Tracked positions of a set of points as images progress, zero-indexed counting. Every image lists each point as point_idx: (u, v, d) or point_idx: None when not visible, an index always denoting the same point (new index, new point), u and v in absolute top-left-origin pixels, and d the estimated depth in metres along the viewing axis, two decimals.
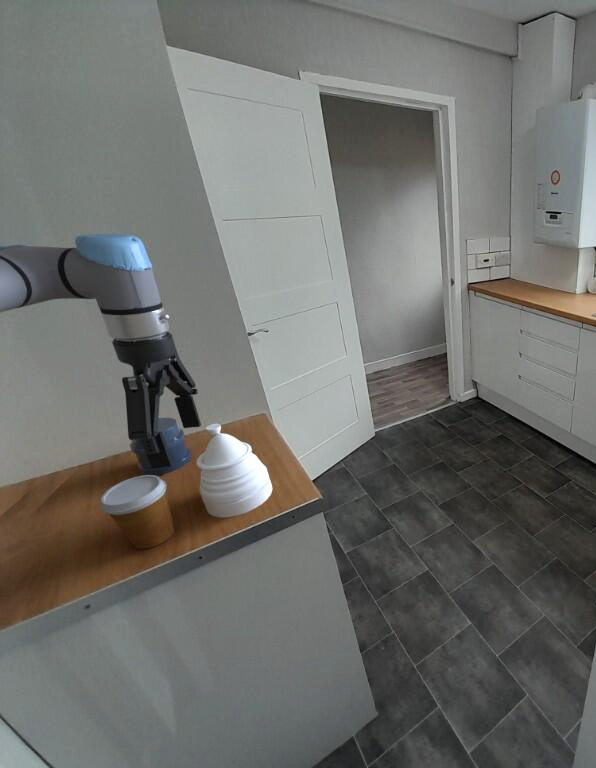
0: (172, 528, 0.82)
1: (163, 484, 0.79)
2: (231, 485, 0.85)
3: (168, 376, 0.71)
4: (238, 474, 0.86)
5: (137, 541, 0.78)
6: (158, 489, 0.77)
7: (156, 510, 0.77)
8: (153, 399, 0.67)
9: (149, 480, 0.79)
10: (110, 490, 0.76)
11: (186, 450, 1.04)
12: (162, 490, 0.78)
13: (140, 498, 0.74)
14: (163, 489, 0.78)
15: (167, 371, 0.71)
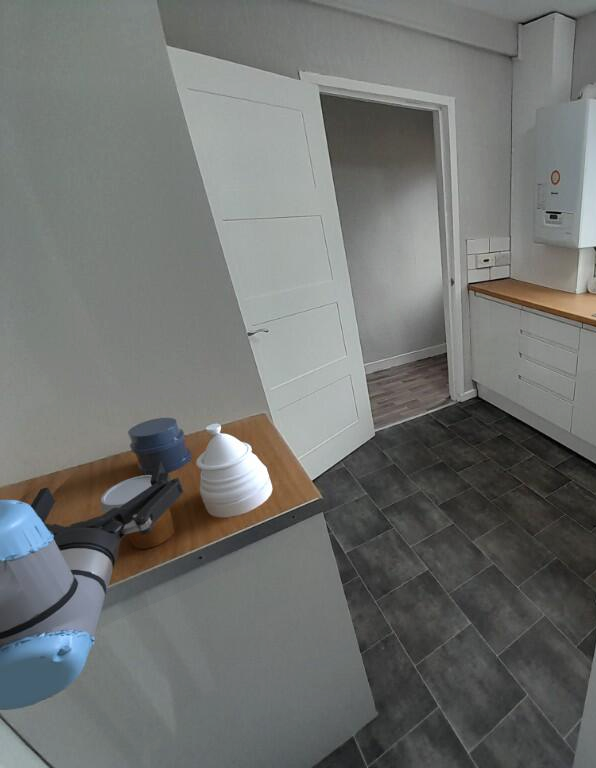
0: (172, 528, 0.82)
1: None
2: (231, 485, 0.85)
3: None
4: (238, 474, 0.86)
5: (137, 541, 0.78)
6: None
7: None
8: None
9: (149, 480, 0.79)
10: (110, 490, 0.76)
11: (186, 450, 1.04)
12: None
13: None
14: None
15: None
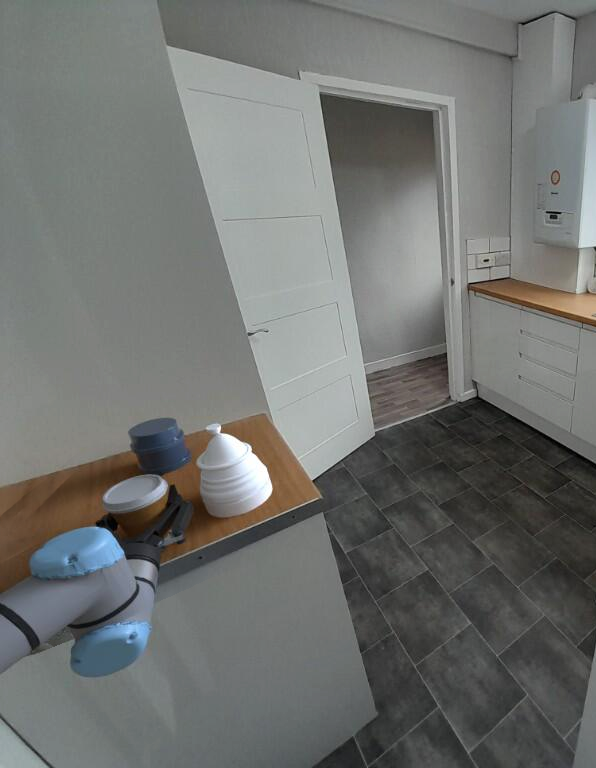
0: None
1: (164, 484, 0.79)
2: (231, 485, 0.85)
3: None
4: (238, 474, 0.86)
5: None
6: (159, 488, 0.77)
7: (157, 509, 0.77)
8: None
9: (151, 479, 0.79)
10: (112, 489, 0.76)
11: (186, 450, 1.04)
12: (163, 489, 0.78)
13: (142, 497, 0.74)
14: (164, 489, 0.78)
15: None
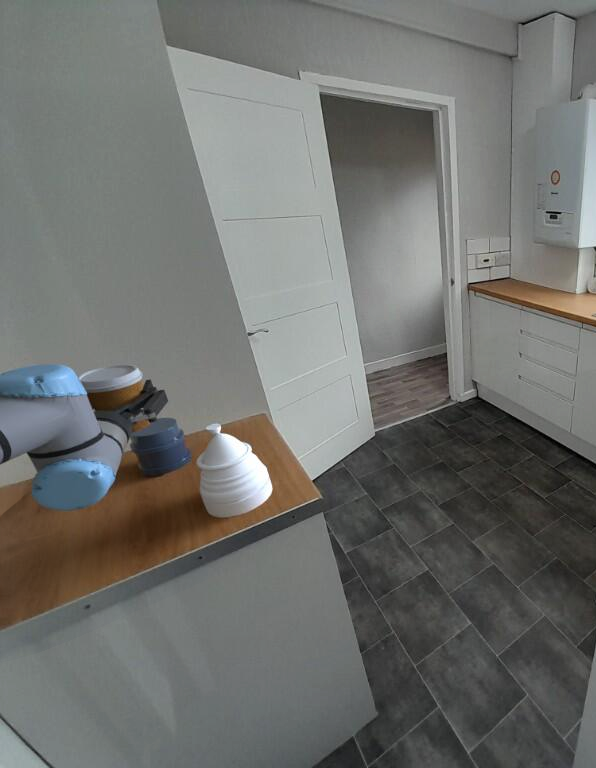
0: None
1: (139, 372, 0.81)
2: (231, 485, 0.85)
3: None
4: (238, 474, 0.86)
5: None
6: (133, 374, 0.79)
7: (131, 394, 0.79)
8: None
9: (126, 368, 0.81)
10: (86, 373, 0.78)
11: (186, 450, 1.04)
12: (138, 376, 0.79)
13: (115, 378, 0.76)
14: (139, 376, 0.80)
15: None
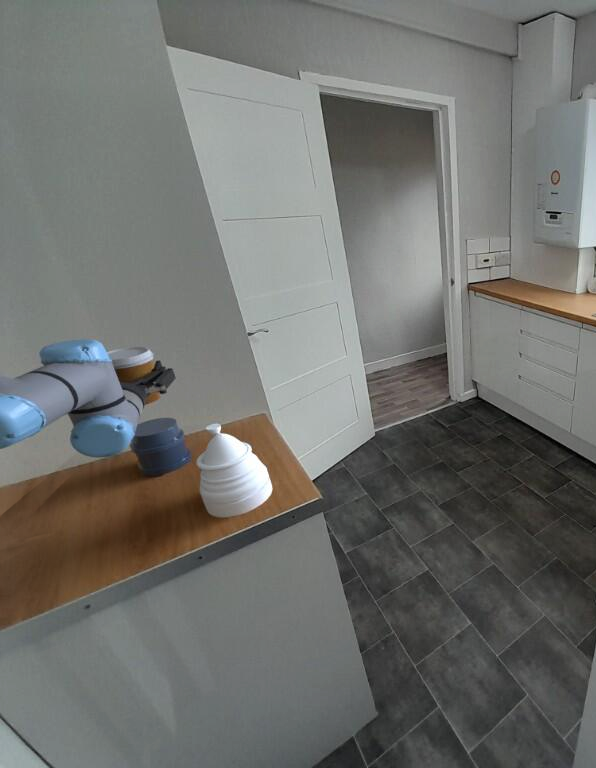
0: (158, 394, 0.97)
1: (151, 353, 0.94)
2: (231, 485, 0.85)
3: None
4: (238, 474, 0.86)
5: None
6: (146, 354, 0.92)
7: (144, 371, 0.92)
8: None
9: (139, 350, 0.94)
10: None
11: (186, 450, 1.04)
12: (149, 356, 0.93)
13: (131, 357, 0.89)
14: (150, 356, 0.93)
15: None
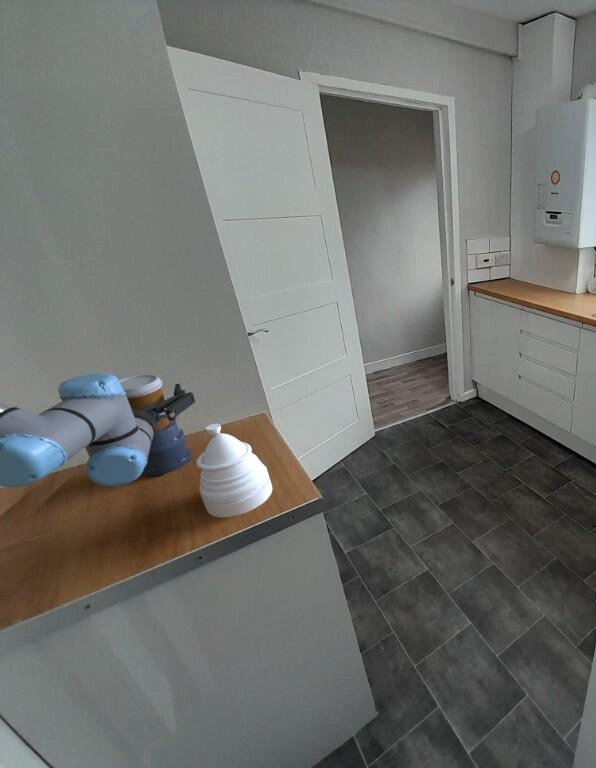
0: (167, 420, 1.00)
1: (160, 380, 0.97)
2: (231, 485, 0.85)
3: None
4: (238, 474, 0.86)
5: None
6: (155, 382, 0.95)
7: (154, 399, 0.95)
8: None
9: (148, 377, 0.97)
10: None
11: (186, 450, 1.04)
12: (159, 384, 0.96)
13: (141, 386, 0.92)
14: (160, 384, 0.96)
15: None
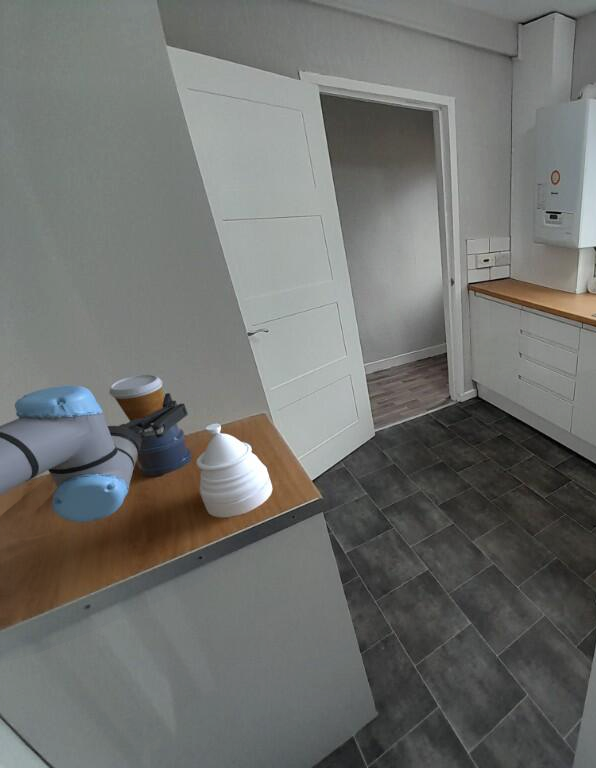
0: None
1: (160, 380, 0.97)
2: (231, 485, 0.85)
3: None
4: (238, 474, 0.86)
5: None
6: (155, 382, 0.95)
7: (154, 399, 0.95)
8: None
9: (148, 377, 0.97)
10: (117, 382, 0.94)
11: (186, 450, 1.04)
12: (159, 384, 0.96)
13: (141, 386, 0.92)
14: (160, 384, 0.96)
15: None
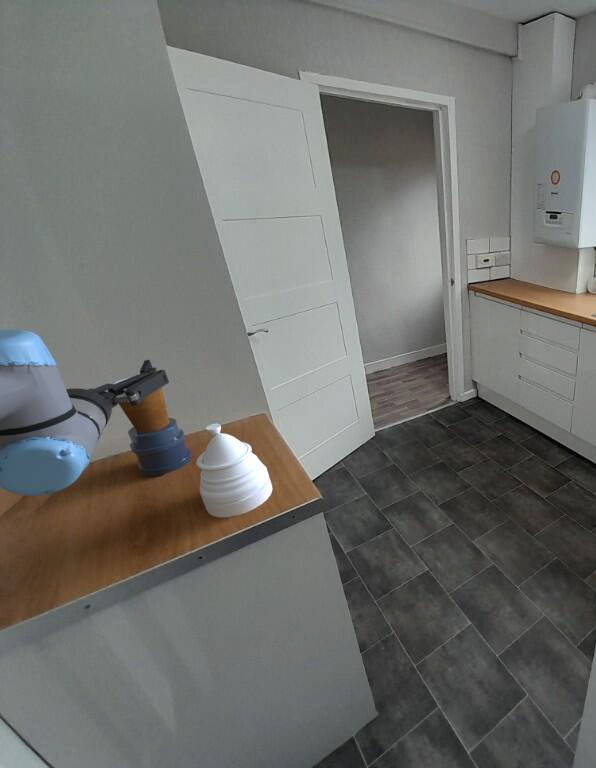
0: (167, 420, 1.00)
1: None
2: (231, 485, 0.85)
3: None
4: (238, 474, 0.86)
5: (139, 425, 0.96)
6: None
7: (154, 399, 0.95)
8: None
9: None
10: (117, 382, 0.94)
11: (186, 450, 1.04)
12: None
13: None
14: None
15: None
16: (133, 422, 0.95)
